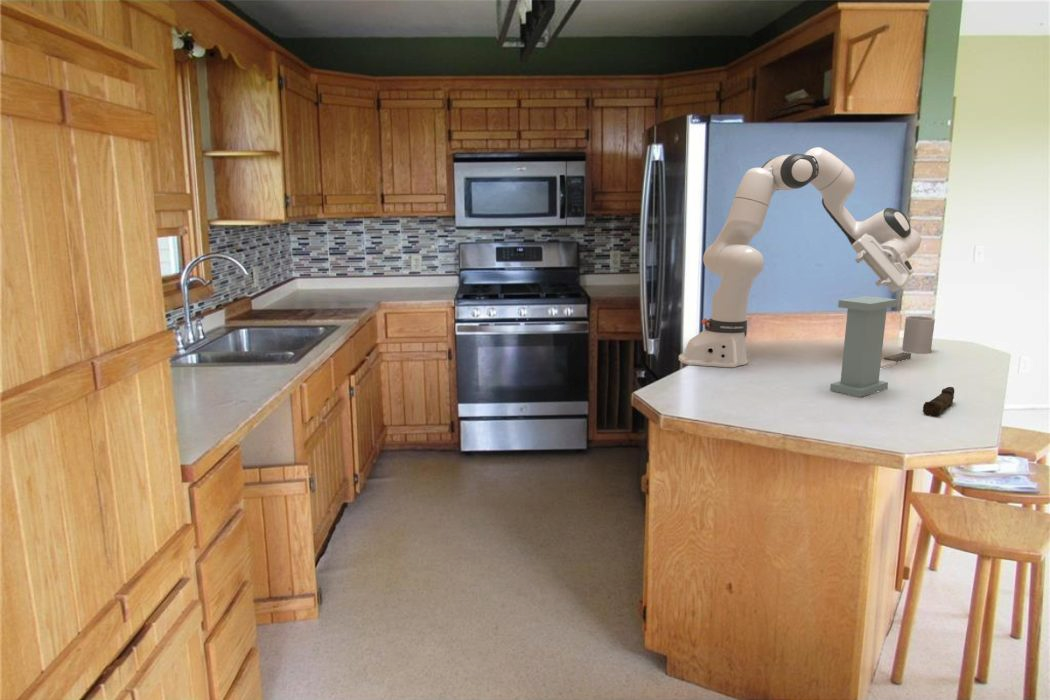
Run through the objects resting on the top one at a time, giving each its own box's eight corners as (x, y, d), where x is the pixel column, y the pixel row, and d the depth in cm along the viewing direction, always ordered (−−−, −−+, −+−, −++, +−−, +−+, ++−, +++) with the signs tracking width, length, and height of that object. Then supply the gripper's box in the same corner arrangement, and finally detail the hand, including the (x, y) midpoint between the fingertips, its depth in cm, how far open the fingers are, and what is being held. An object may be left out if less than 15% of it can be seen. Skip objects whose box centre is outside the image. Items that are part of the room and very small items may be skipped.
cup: (904, 352, 259) (908, 319, 256) (899, 347, 267) (903, 315, 265) (933, 354, 256) (937, 320, 253) (927, 349, 264) (931, 316, 262)
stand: (860, 397, 200) (870, 303, 195) (830, 390, 207) (838, 300, 202) (887, 389, 209) (897, 299, 204) (857, 382, 216) (866, 295, 211)
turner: (881, 369, 234) (881, 363, 233) (862, 366, 238) (863, 360, 238) (915, 359, 248) (916, 354, 248) (897, 356, 253) (898, 351, 253)
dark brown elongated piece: (938, 418, 182) (941, 400, 181) (921, 415, 185) (923, 397, 184) (962, 404, 195) (964, 387, 194) (945, 401, 198) (948, 384, 197)
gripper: (874, 226, 235) (852, 241, 228) (917, 275, 232) (897, 291, 224) (860, 237, 241) (838, 252, 233) (902, 285, 237) (882, 301, 229)
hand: (867, 272), depth 229 cm, fingers open, 8 cm apart
